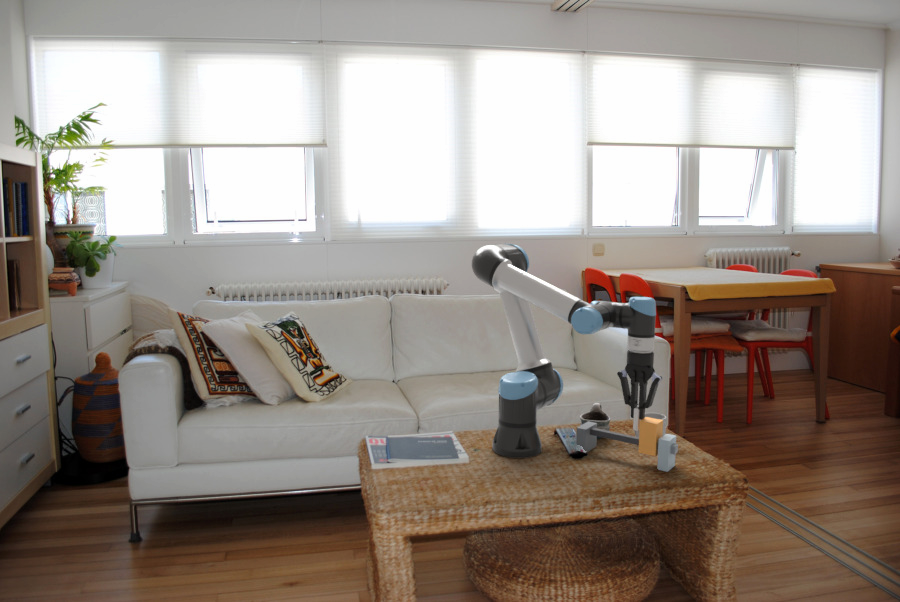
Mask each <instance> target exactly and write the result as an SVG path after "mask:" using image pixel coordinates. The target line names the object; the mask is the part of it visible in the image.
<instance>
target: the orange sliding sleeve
mask: <svg viewBox="0 0 900 602" xmlns="http://www.w3.org/2000/svg"><path fill="white" fill-rule="evenodd" d="M662 433H663V420H660V419H655V418H650V417H645V418H644V419H642V420H641V421H640V430H639V445H638V453H639V454H644V455H648V456H652V457H658V450H657V442H658V441H659V438H661V437H662Z"/></svg>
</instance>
